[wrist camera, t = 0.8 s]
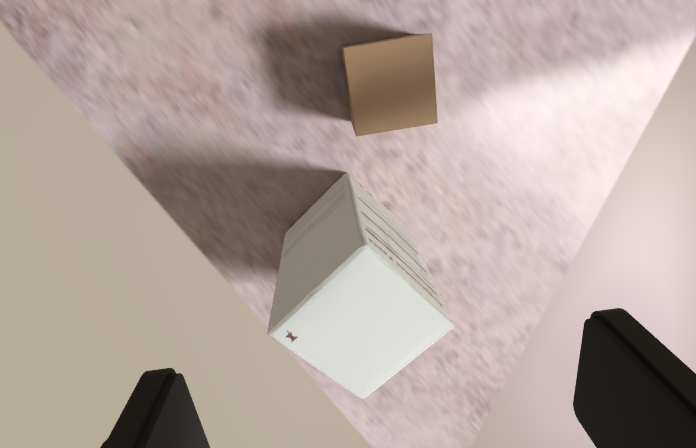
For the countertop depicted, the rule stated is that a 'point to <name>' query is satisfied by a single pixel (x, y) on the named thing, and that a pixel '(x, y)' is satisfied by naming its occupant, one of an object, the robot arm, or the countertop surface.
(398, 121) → the walnut cube
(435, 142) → the countertop surface
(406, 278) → the supplement box
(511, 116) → the countertop surface
